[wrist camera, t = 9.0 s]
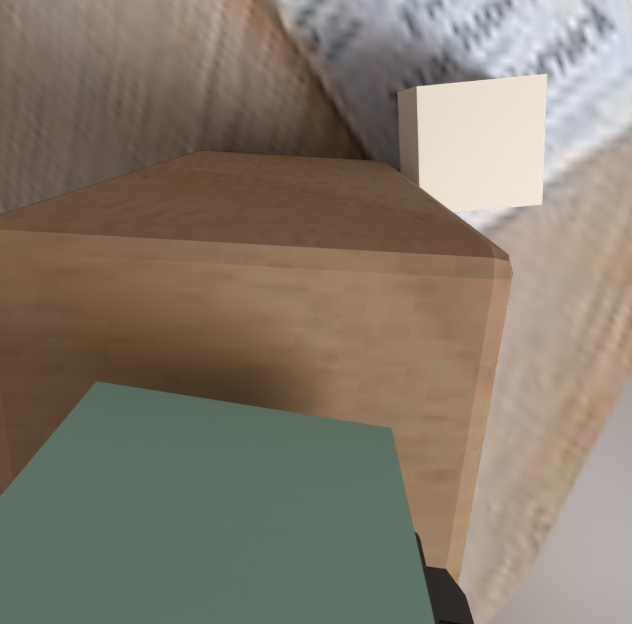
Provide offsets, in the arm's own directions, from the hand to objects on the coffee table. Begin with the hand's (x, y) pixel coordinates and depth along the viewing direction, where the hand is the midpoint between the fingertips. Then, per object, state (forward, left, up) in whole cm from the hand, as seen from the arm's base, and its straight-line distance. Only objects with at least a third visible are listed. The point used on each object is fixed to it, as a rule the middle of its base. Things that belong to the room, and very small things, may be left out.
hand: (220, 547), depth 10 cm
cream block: (-7, +7, -22) cm, 24 cm away
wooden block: (0, 0, -22) cm, 22 cm away
